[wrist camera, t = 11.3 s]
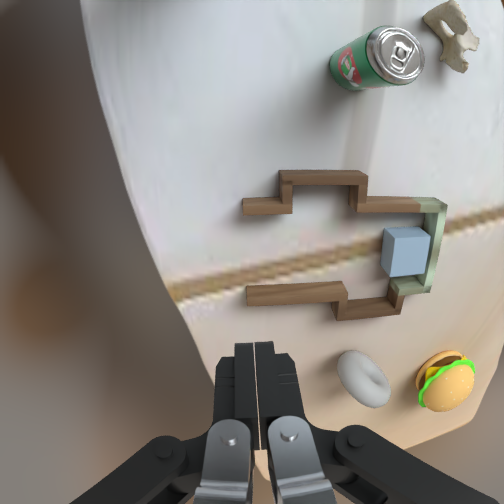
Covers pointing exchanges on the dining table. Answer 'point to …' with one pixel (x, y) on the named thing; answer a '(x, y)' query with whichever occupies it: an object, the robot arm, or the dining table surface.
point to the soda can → (378, 60)
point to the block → (404, 251)
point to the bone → (452, 43)
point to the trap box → (360, 204)
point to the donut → (363, 379)
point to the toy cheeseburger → (445, 381)
